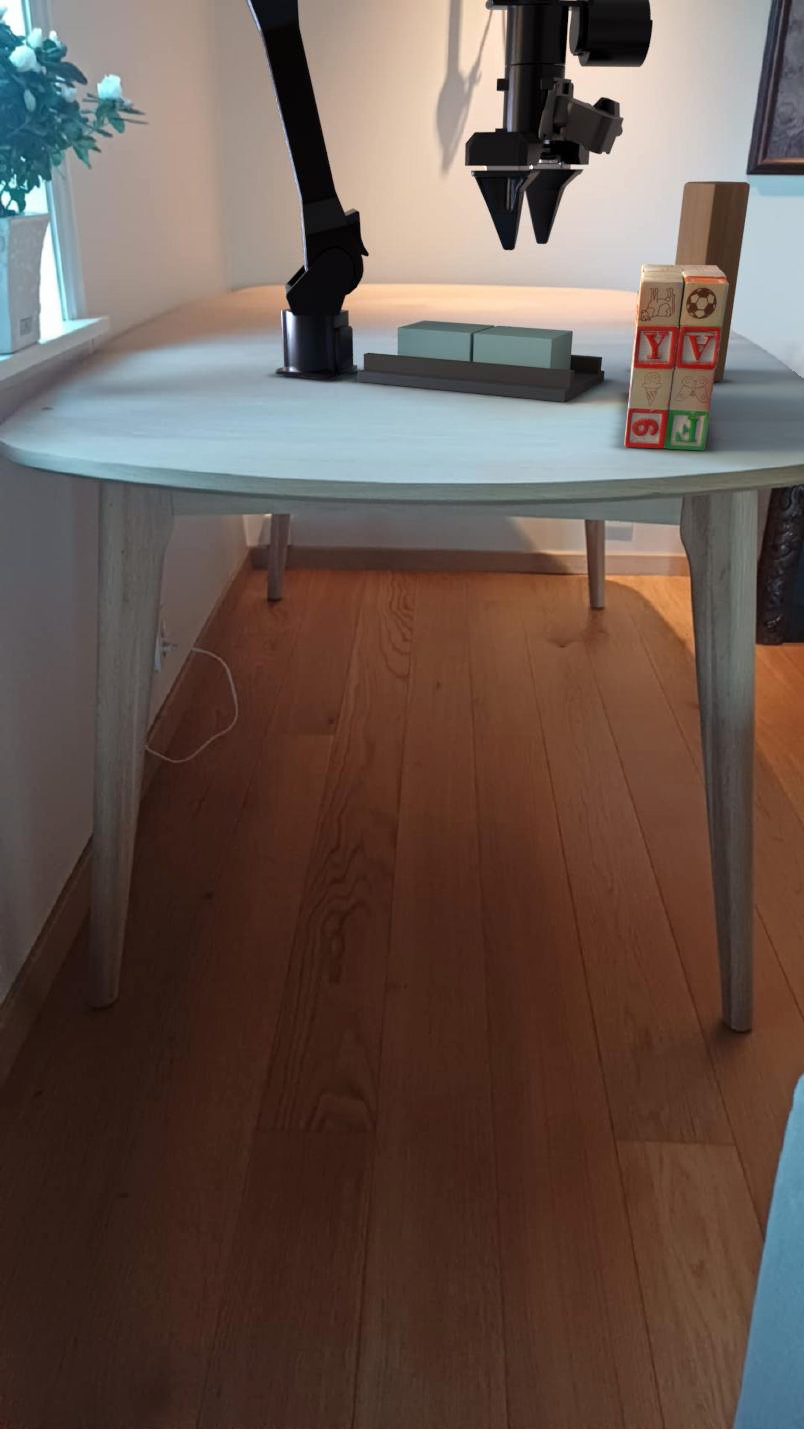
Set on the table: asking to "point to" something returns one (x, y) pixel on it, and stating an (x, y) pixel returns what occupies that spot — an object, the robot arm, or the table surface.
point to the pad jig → (472, 366)
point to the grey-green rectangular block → (524, 347)
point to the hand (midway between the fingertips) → (526, 247)
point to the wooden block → (714, 238)
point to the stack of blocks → (675, 355)
